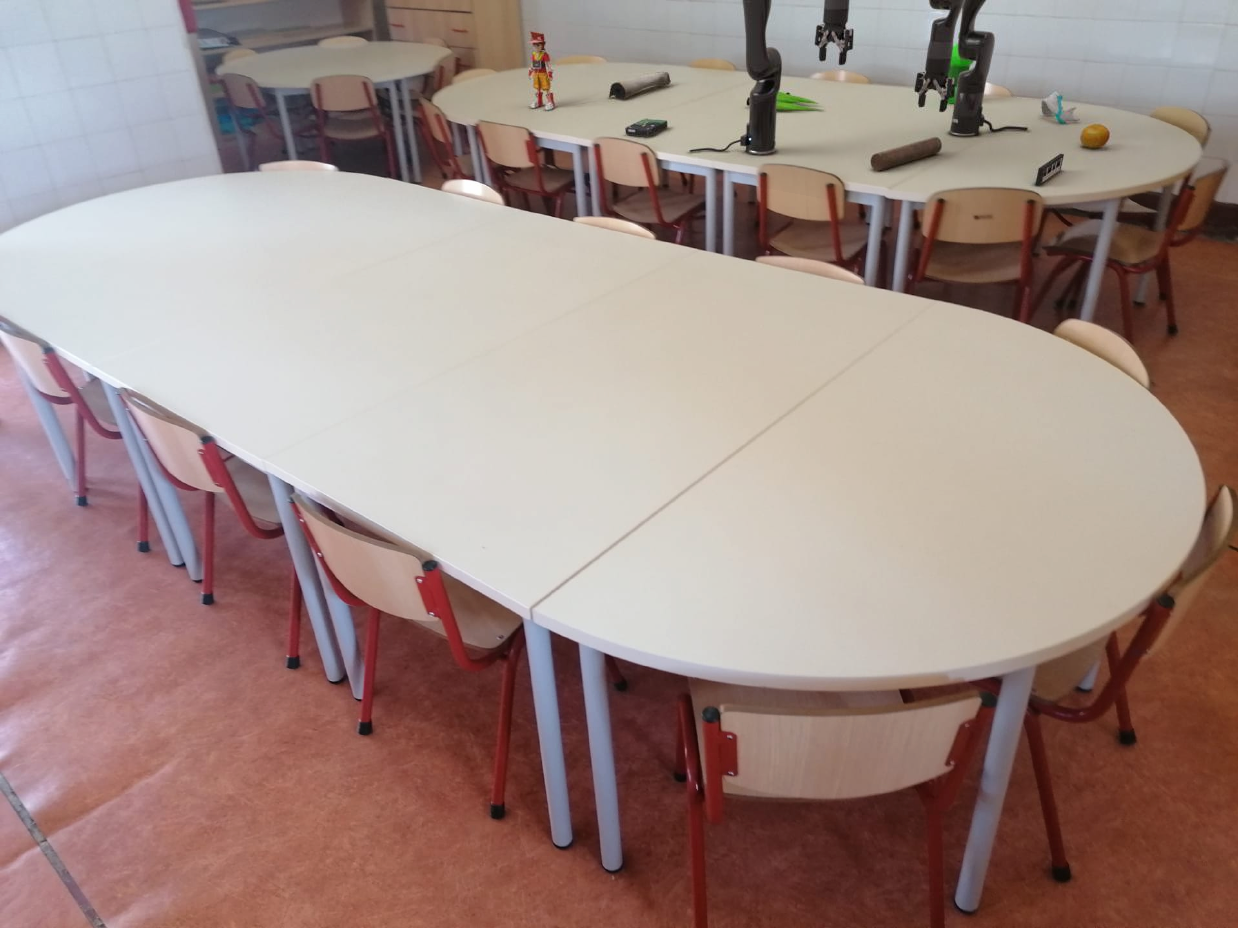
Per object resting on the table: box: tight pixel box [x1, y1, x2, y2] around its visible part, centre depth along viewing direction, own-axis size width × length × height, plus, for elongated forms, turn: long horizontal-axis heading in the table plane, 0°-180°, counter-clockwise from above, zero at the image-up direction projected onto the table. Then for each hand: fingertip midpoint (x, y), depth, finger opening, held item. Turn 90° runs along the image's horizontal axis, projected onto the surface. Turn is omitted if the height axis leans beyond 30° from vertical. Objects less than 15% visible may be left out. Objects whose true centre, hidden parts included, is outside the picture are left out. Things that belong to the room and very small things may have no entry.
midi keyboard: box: [1035, 153, 1065, 186], centre depth 273 cm, size 18×1×5 cm, turn 138°
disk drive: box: [624, 118, 668, 137], centre depth 342 cm, size 10×3×15 cm
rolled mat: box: [608, 71, 672, 101], centre depth 395 cm, size 30×9×10 cm
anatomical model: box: [1040, 91, 1081, 124], centre depth 325 cm, size 15×10×10 cm
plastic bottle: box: [946, 34, 974, 104], centre depth 348 cm, size 10×10×25 cm
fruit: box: [1079, 123, 1111, 149], centre depth 296 cm, size 8×8×8 cm
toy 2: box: [745, 91, 821, 111], centre depth 360 cm, size 28×5×30 cm
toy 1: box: [527, 31, 556, 111], centre depth 374 cm, size 12×9×30 cm
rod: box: [870, 136, 943, 172], centre depth 294 cm, size 28×5×5 cm, turn 123°
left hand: (832, 63), depth 284 cm, fingers open, 8 cm apart
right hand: (931, 109), depth 291 cm, fingers open, 8 cm apart
